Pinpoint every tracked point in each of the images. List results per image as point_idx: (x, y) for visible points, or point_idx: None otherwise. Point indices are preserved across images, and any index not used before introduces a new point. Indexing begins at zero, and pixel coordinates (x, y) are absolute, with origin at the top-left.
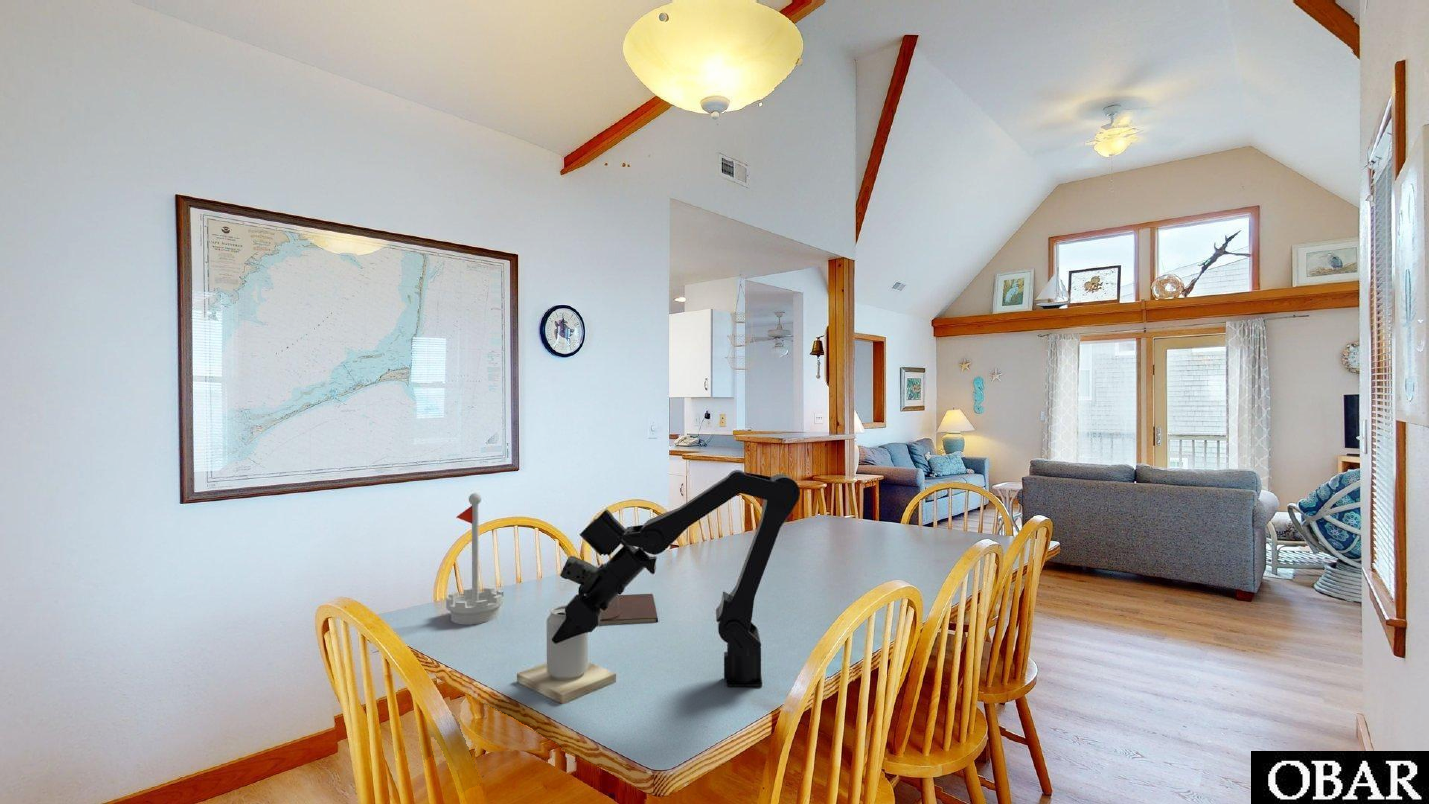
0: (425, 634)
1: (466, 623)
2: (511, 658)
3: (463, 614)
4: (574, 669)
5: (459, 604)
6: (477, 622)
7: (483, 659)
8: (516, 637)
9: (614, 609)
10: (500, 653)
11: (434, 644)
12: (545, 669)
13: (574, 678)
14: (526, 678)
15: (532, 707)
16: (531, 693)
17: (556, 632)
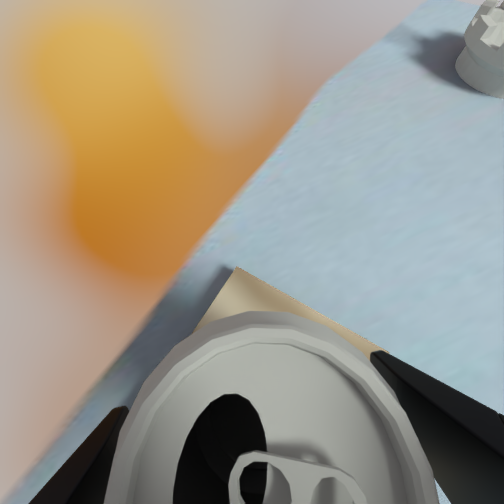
0: (389, 53)
1: (461, 75)
2: (349, 209)
3: (470, 53)
4: (203, 472)
5: (480, 24)
6: (476, 86)
7: (327, 165)
8: (454, 171)
9: None
10: (365, 179)
11: (358, 78)
12: None
13: (224, 451)
14: (213, 301)
15: (104, 373)
16: (180, 334)
17: (63, 464)
